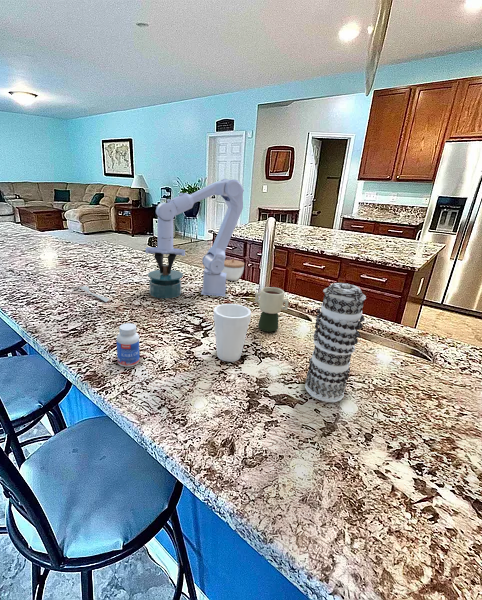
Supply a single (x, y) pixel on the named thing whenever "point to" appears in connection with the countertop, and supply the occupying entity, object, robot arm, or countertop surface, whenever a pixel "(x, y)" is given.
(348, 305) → the leaning tower model
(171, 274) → the lid
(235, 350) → the foam cup
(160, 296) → the bowl
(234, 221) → the robot arm
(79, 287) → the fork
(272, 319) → the character mug
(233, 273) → the trinket box
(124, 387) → the countertop surface
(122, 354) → the pill bottle
